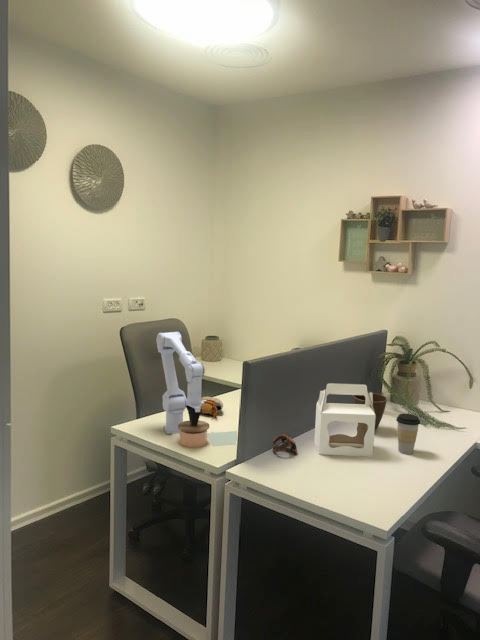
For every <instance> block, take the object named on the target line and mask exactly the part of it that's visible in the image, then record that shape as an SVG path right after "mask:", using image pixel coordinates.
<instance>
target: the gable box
mask: <svg viewBox="0 0 480 640" xmlns="http://www.w3.org/2000/svg"><path fill="white" fill-rule="evenodd" d="M325 386H326V387H325V389H323V390H321V389H320V390H319V395H318V396H319V397H318V400H317V402H316V406H315V423H314V425H315V426H314V441H313V442H314V445H315V448H316V451H317V453H318V455H320V456H321V455H324V456H347V457H351V456H353V457H358V456H359V457H373V455H374V446H375V445H374V442H375V433H376V432H375V418H376V414H375V411H374V408H373V393H374V392H373V391H368V386H367V384H363V383H361V384H360V383H337V382H336V383H335V382H333V383H332V382H328V383H326V385H325ZM328 395H345V396H347V395H349V396H350V395H351V396H354V395H361V396H363V395H364V396H365V404H354V403H337V402H336V403H333V402H327V397H328ZM332 422H341V423H347V424H357V427H356V435H354V436H350V435H347V434H343V433H342V434H341V433H338V434H337V433H336V434H333V435H330V434H329V433H330V432H329V429H328V425H329V424H330V423H332Z"/></svg>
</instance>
